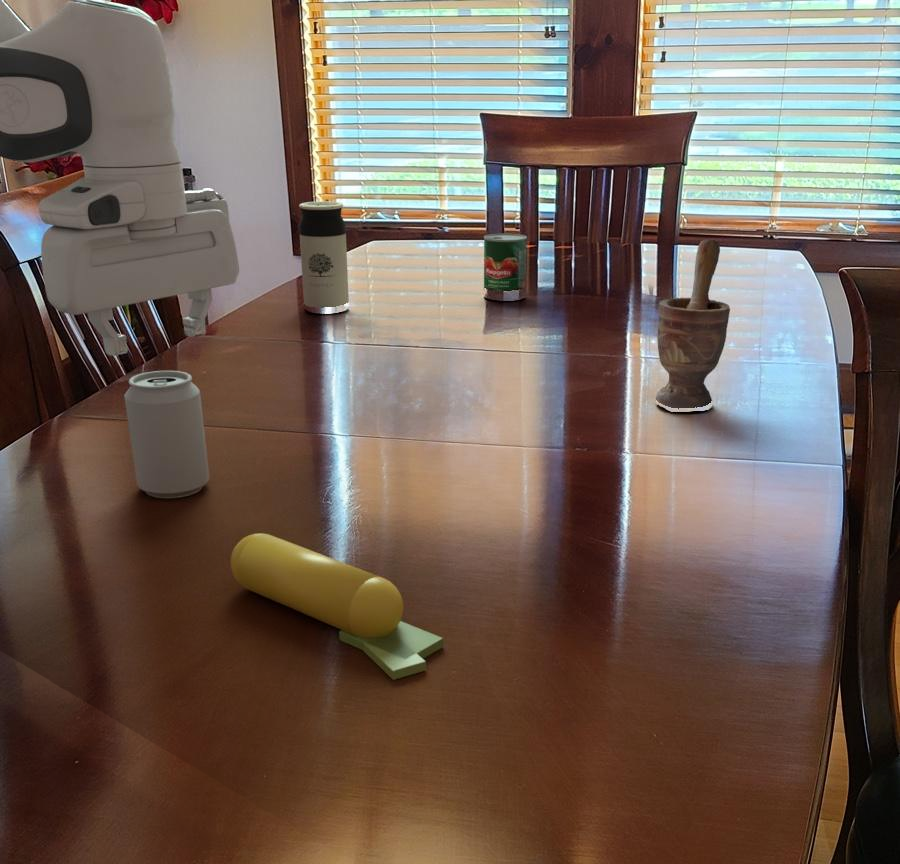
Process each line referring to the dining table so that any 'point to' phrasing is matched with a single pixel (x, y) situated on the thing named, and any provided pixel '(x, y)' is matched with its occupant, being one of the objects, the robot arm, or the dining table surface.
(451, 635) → the dining table surface
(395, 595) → the corn cob
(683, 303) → the mortar and pestle
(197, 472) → the can
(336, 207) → the travel mug
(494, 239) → the canned tomato
